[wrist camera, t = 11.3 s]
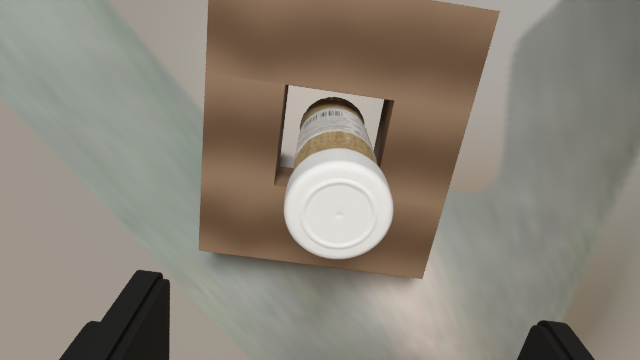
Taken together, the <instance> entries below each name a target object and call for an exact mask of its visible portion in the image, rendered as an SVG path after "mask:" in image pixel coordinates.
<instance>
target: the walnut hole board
mask: <svg viewBox="0 0 640 360" xmlns="http://www.w3.org/2000/svg"><path fill="white" fill-rule="evenodd" d="M208 1H209V3H208V26H207V52H206V78H205V103H204V104H205V105H204V127H203V153H202V178H201V204H200V229H199V251H207V252H215V253H223V254H231V255H239V256H246V257H254V258H262V259H270V260H278V261H286V262H294V263H301V264H309V265H317V266H325V267H333V268H341V269H349V270H357V271H364V272H372V273H380V274H388V275H396V276H404V277H412V278H419V279H422V278H423V275H424V271H425V268H426V264H427V261H428V257H429V254H430V250H431V247H432V244H433V240H434V237H435V233H436V230H437V226H438V223H439V219H440V216H441V212H442V209H443V206H444V202H445V199H446V195H447V192H448V188H449V185H450V181H451V178H452V174H453V171H454V168H455V164H456V161H457V157H458V154H459V150H460V147H461V143H462V140H463V137H464V133H465V129H466V126H467V123H468V119H469V115H470V112H471V109H472V105H473V102H474V98H475V95H476V92H477V88H478V85H479V81H480V78H481V74H482V71H483V67H484V64H485V60H486V57H487V54H488V50H489V47H490V43H491V40H492V36H493V32H494V30H495V26H496V23H497V19H498V15H499V11H495V10H488V9H482V8H476V7H470V6H464V5H457V4H451V3H445V2H439V1H432V0H208ZM288 85H293V86H300V87H307V88H313V89H320V90H327V91H334V92H341V93H347V94H354V95H361V96H367V97H374V98H381V99H384V104H383V108H382V114H381V119H380V123H379V128H378V133H377V138H376V143H375V147H374V155H375V157H376V161H377V166H378V167H379V168H380V169H381V171H382V172H383V174H384V176H385V178H386V180H387V183H388V186H389V189H390V192H391V196H392V200H393V217H392V222H391V225H390V227H389V229H388V231H387V233H386V235H385V236H384V237H383V239H382V240H381V241H380V242H379V243H378V244H377V245H376V246H375V247H373V248H372V249H371V250H369V251H367V252H365V253H363V254H361V255H359V256H356V257H352V258H347V259H329V258H324V257H320V256H317V255H315V254H312V253H311V252H309V251H307V250H305V249H304V248H303V247H301V246H300V245H299V244H298V243H297V242H296V241H295V240H294V238H293V237H292V235H291V234H290V232H289V230H288V228H287V225H286V222H285V217H284V200H285V194H286V189H287V184H288V181H289V179H290V177H291V175H292V173H293V171H294V169H293V168H286V167H279V163H280V154H281V146H282V136H283V128H284V120H285V111H286V102H287V94H288Z"/></svg>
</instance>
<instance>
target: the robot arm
mask: <svg viewBox="0 0 640 360" xmlns="http://www.w3.org/2000/svg"><path fill="white" fill-rule="evenodd" d="M169 319H170V282H169V280H167V279H163V275H162V273H160V272H152V271H144V270H138V271H136V272H135V274H134V275H133V276H132V278H131V279H130V281H129V282H128V284H127V285H126V286H125V288H124V289H123V291H122V292H121V293H120V295H119V296H118V298H117V299H116V301H115V302H114V303H113V305H112V306H111V308H110V309H109V310H108V312H107V313H106V315H105V316H104V317H103V319H102V321H101V322H96V321H91V322H89V323H87V324H86V325H85V326H84V327H83V328H82V330H81V331H80V332H79V334H78V335H77V336H76V338H75V339H74V340H73V342H72V343H71V344H70V346H69V347H68V349H67V350H66V351H65V352H64V354H63V355H62V356H61V358H60V359H59V360H169V327H170V326H169V325H170V322H169V321H170V320H169ZM517 360H594V358H593V357H592V355H591V354H590V353H589V352H588V350H587V349H586V348H585V346H584V345H583V344H582V342H581V341H580V340H579V338H578V337H577V336H576V334H575V333H574V332H573V331H572V329H571V328H570V327H569V326H568V325H567V324H565V323H561V322H553V321H545V320H543V321H540V322H538V324H537V325H534V326H532V328H531V329H530V331H529V334H528V336H527V338H526V340H525V343H524V345H523V347H522V350H521V352H520V354H519V356H518V359H517Z"/></svg>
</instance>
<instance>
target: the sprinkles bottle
mask: <svg viewBox="0 0 640 360" xmlns="http://www.w3.org/2000/svg"><path fill="white" fill-rule="evenodd" d="M284 217H285V222H286V225H287V228H288V230H289V232H290V234H291V235H292V237H293V238H294V240H295V241H296V242H297V243H298V244H299V245H300V246H301V247H303V248H304V249H305V250H307V251H309V252H311V253H312V254H315V255H317V256H320V257H324V258H329V259H347V258H352V257H356V256H359V255H361V254H363V253H365V252H367V251H369V250H371V249H372V248H373V247H375V246H376V245H377V244H378V243H379V242H380V241H381V240H382V239H383V237H384V236H385V235H386V233H387V231H388V229H389V227H390V225H391V222H392V217H393V200H392V196H391V192H390V189H389V186H388V183H387V180H386V178H385V176H384V174H383V172H382V171H381V169H380V168H379V167H378V166H377V161H376V157H375V155H374V152H373V149H372V146H371V143H370V140H369V137H368V134H367V131H366V129H365V127H364V120H363V117H362V115H361V113H360V111H359V110H358V108H357V107H355V106H354V105H353V104H352V103H351V102H349V101H347V100H345V99H342V98H337V97H332V98H331V97H328V98H325V99H320V100H318V101H317V102H315V103H314V104H312V105H311V106H310V107H309V108H308V109H307V111H306V112H305V113H304V115H303V118H302V120H301V124H300V135H299V140H298V145H297V150H296V155H295V165H294V171H293V173H292V175H291V177H290V179H289V181H288V184H287V189H286V194H285V200H284Z"/></svg>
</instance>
